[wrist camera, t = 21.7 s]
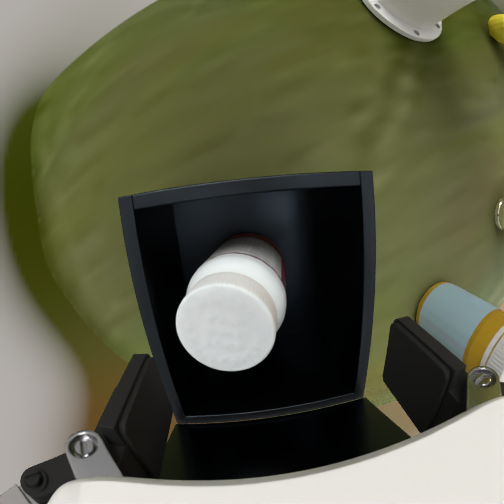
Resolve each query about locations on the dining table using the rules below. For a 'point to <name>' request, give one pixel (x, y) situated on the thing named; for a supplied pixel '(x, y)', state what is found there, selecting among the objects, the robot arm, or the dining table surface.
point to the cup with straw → (500, 214)
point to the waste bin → (297, 288)
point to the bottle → (464, 325)
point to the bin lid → (278, 443)
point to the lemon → (497, 27)
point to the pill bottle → (234, 304)
